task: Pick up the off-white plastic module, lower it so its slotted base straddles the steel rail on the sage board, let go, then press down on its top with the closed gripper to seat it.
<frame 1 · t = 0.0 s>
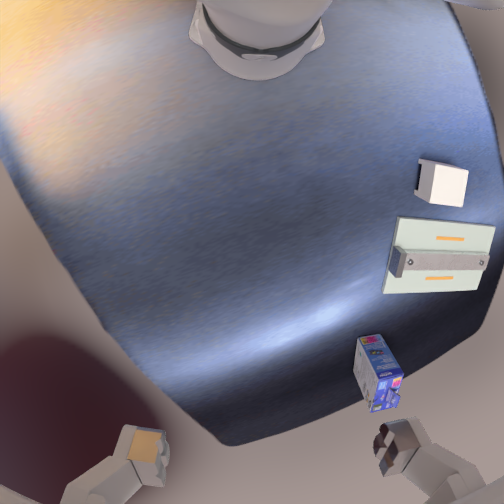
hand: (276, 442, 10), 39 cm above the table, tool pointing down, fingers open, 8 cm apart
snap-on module: (432, 178, 45), on the table
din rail: (447, 262, 48), on the mounting board, point 2 cm above the table
mounting board: (442, 256, 51), on the table
ink cartridge box: (366, 352, 60), on the table
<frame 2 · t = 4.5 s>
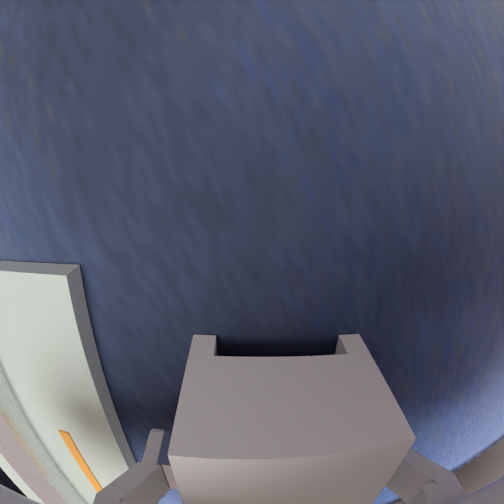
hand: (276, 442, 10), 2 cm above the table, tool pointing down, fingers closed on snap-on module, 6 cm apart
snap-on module: (272, 404, 12), on the table, touching gripper
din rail: (18, 461, 11), on the mounting board, point 2 cm above the table
mounting board: (37, 439, 13), on the table
when the fingers open (4 cm above the table, at t = 10.3 s): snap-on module stays where it is, resting on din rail.
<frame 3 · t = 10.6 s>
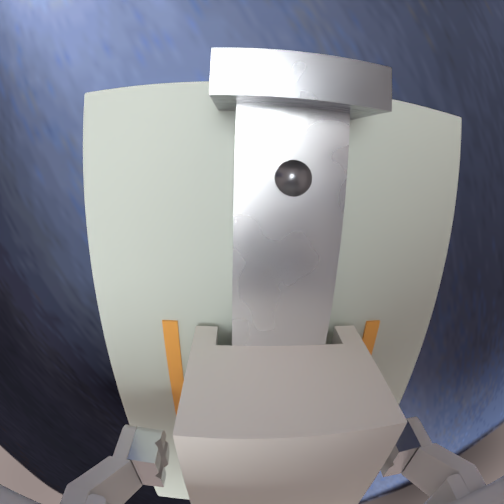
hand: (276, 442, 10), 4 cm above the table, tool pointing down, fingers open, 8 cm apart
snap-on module: (271, 394, 13), point 1 cm above the table, touching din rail
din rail: (273, 404, 11), on the mounting board, point 2 cm above the table
mounting board: (267, 375, 14), on the table
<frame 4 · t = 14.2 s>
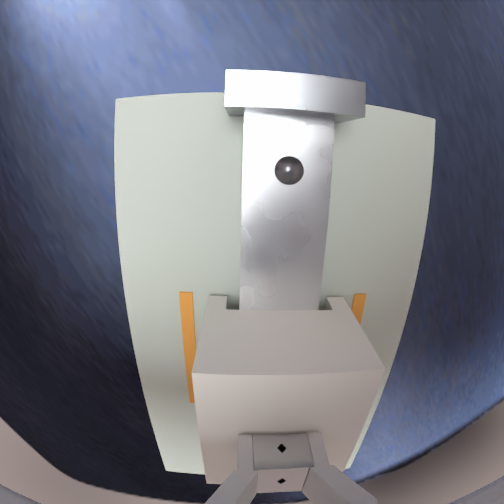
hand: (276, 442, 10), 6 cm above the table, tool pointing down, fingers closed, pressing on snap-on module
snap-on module: (272, 360, 15), point 1 cm above the table, touching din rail, gripper
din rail: (274, 365, 13), on the mounting board, point 2 cm above the table
mounting board: (269, 345, 16), on the table
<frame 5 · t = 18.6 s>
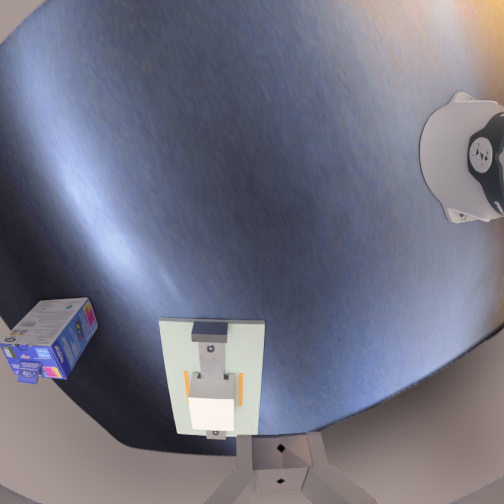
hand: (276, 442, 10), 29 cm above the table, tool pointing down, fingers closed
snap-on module: (214, 390, 44), point 1 cm above the table, touching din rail
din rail: (213, 393, 42), on the mounting board, point 2 cm above the table
mounting board: (214, 385, 45), on the table
ink cartridge box: (69, 314, 41), on the table
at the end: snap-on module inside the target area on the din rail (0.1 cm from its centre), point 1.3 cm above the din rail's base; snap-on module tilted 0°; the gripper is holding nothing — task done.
